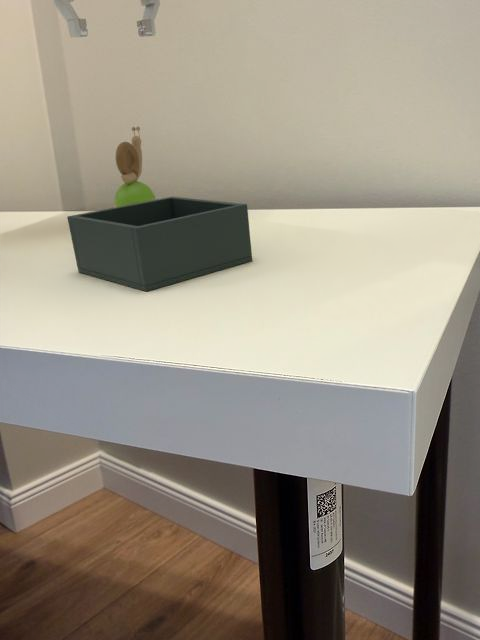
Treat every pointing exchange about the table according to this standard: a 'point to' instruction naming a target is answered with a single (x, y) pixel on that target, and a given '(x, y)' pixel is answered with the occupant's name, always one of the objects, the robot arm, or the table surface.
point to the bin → (161, 241)
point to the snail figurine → (131, 173)
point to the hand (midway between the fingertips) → (114, 36)
